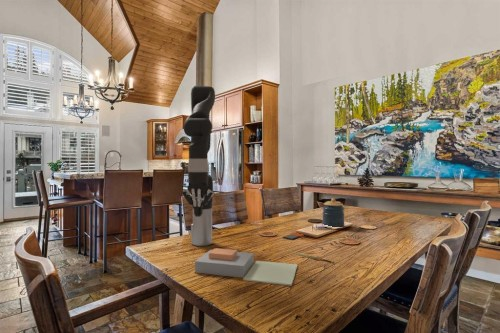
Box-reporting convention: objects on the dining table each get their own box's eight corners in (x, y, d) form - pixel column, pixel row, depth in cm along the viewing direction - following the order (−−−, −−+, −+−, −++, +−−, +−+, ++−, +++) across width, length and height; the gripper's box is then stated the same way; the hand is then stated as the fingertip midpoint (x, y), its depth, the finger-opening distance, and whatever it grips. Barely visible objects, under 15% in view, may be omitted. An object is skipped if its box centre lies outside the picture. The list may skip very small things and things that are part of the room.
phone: (307, 233, 152) (292, 239, 141) (307, 235, 152) (292, 241, 141) (297, 231, 156) (281, 236, 145) (297, 233, 156) (281, 239, 145)
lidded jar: (323, 229, 165) (323, 199, 165) (321, 224, 178) (321, 196, 178) (346, 230, 163) (346, 199, 163) (342, 225, 176) (342, 197, 175)
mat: (243, 280, 93) (243, 278, 93) (256, 261, 110) (256, 260, 110) (291, 285, 88) (291, 284, 88) (297, 265, 106) (297, 264, 106)
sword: (279, 251, 125) (279, 250, 125) (284, 249, 127) (284, 248, 127) (331, 264, 107) (331, 262, 107) (335, 262, 110) (335, 260, 110)
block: (208, 258, 102) (208, 252, 102) (215, 253, 108) (214, 248, 108) (231, 260, 100) (231, 255, 100) (237, 255, 106) (237, 250, 106)
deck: (195, 272, 99) (194, 261, 99) (210, 259, 113) (210, 249, 113) (243, 277, 95) (243, 266, 95) (253, 263, 108) (253, 253, 108)
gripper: (177, 171, 105) (177, 217, 105) (210, 171, 101) (210, 219, 101) (187, 170, 112) (187, 213, 112) (218, 170, 108) (218, 215, 108)
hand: (198, 216), depth 107 cm, fingers closed
